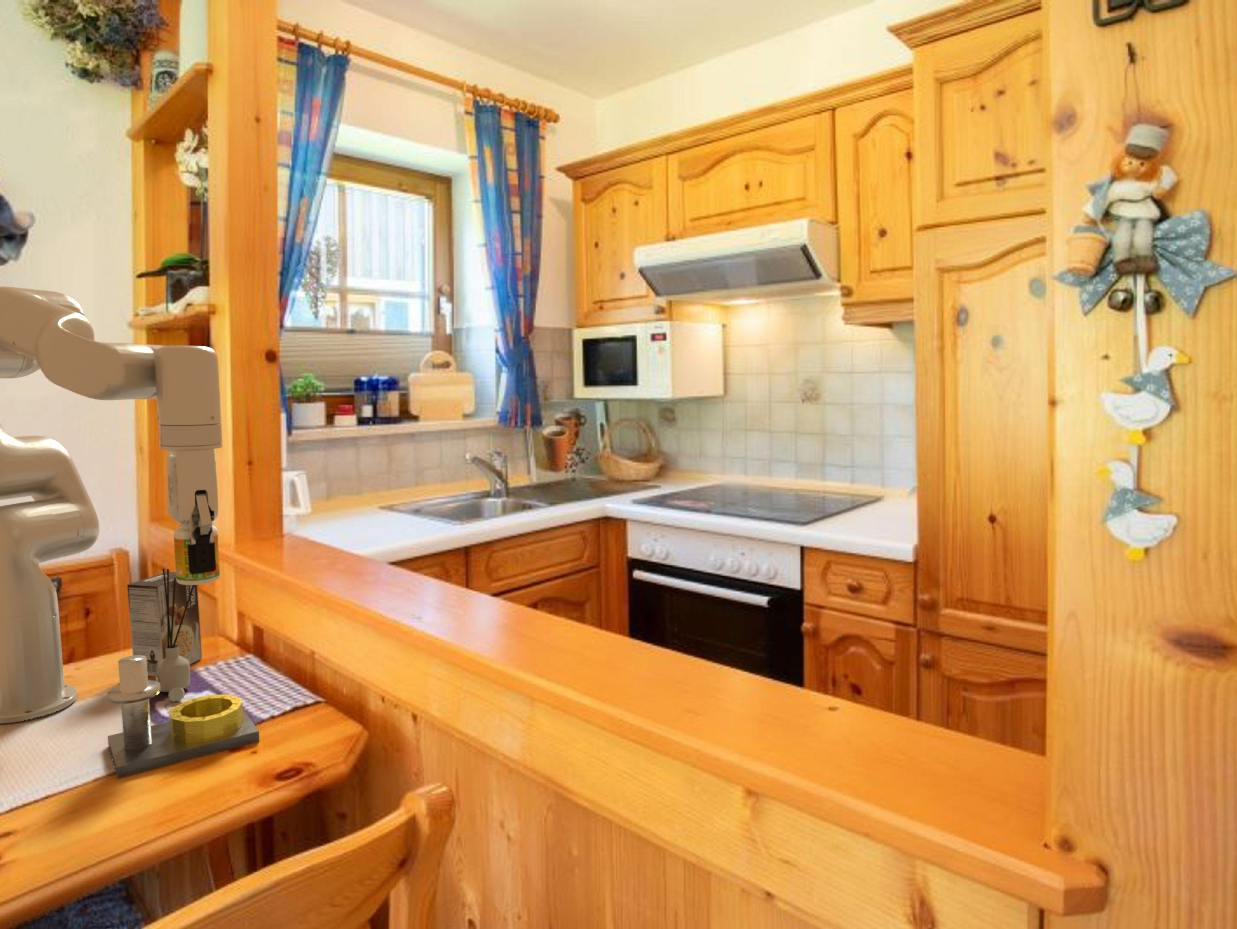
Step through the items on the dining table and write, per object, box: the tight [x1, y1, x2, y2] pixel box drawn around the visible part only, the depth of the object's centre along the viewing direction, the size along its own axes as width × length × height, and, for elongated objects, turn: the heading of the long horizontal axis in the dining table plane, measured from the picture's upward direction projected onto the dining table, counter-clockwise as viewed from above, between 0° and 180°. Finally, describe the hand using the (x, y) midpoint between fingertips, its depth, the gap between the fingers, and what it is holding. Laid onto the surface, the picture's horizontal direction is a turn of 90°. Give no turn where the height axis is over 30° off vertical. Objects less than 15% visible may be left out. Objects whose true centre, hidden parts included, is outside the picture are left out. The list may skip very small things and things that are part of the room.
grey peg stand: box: [107, 654, 260, 779], centre depth 109 cm, size 17×11×14 cm, turn 128°
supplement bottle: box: [173, 517, 221, 586], centre depth 109 cm, size 5×5×10 cm
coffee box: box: [126, 571, 203, 677], centre depth 138 cm, size 9×6×16 cm
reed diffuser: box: [155, 568, 194, 702], centre depth 127 cm, size 10×7×20 cm
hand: (198, 566), depth 109 cm, fingers closed on supplement bottle, 5 cm apart
